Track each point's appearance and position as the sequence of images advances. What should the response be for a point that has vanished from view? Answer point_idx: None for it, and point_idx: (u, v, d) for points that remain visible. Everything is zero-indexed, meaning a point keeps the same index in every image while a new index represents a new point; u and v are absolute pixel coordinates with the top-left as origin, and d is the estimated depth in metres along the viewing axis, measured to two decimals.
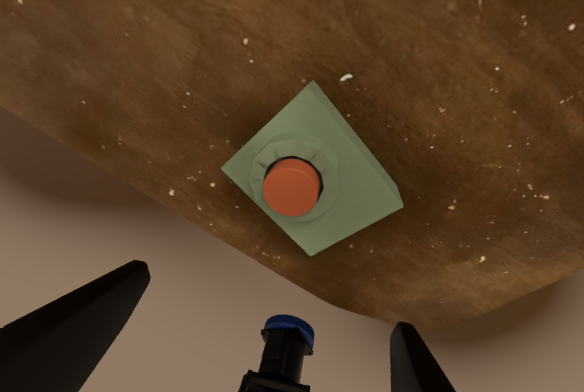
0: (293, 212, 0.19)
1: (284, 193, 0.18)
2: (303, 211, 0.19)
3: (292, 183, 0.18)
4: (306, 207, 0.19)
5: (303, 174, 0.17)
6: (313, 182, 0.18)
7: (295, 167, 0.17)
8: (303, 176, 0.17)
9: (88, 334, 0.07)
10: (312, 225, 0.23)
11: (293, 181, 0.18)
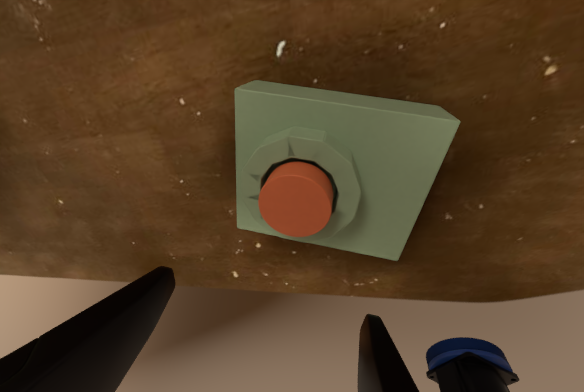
0: (317, 226, 0.14)
1: (289, 211, 0.14)
2: (325, 217, 0.14)
3: (286, 195, 0.13)
4: (324, 210, 0.13)
5: (287, 176, 0.13)
6: (305, 177, 0.13)
7: (275, 176, 0.13)
8: (289, 178, 0.13)
9: (120, 343, 0.07)
10: (367, 224, 0.17)
11: (285, 192, 0.13)
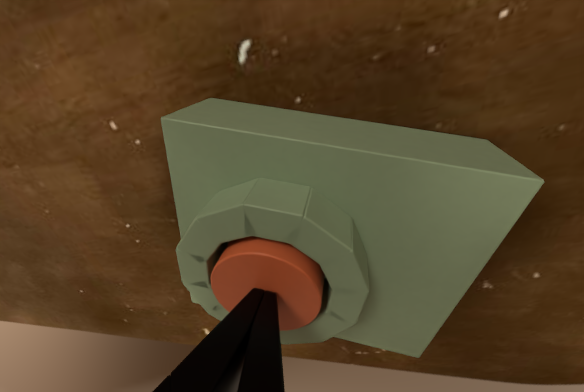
0: (300, 320, 0.09)
1: None
2: (313, 311, 0.09)
3: (251, 279, 0.09)
4: (310, 303, 0.09)
5: (250, 255, 0.08)
6: (279, 257, 0.08)
7: (232, 251, 0.08)
8: (254, 258, 0.08)
9: (234, 374, 0.07)
10: (376, 312, 0.11)
11: (248, 276, 0.09)
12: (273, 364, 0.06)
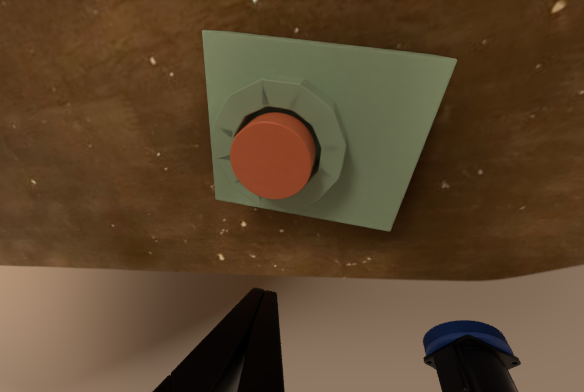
0: (296, 184, 0.12)
1: (265, 168, 0.12)
2: (306, 173, 0.12)
3: (260, 147, 0.12)
4: (304, 165, 0.12)
5: (260, 124, 0.11)
6: (281, 124, 0.11)
7: (247, 125, 0.12)
8: (262, 127, 0.11)
9: (234, 374, 0.07)
10: (356, 189, 0.15)
11: (258, 144, 0.12)
12: (273, 364, 0.06)
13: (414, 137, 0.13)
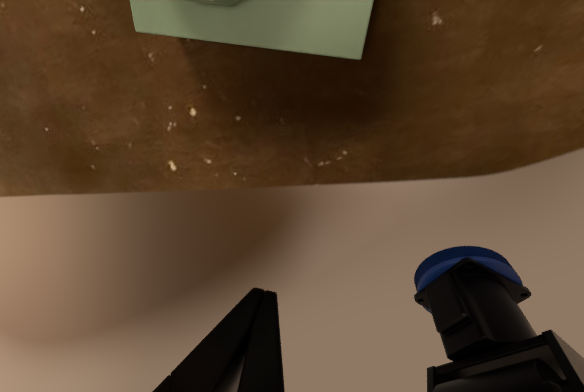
0: None
1: None
2: None
3: None
4: None
5: None
6: None
7: None
8: None
9: (234, 374, 0.07)
10: None
11: None
12: (273, 364, 0.06)
13: None
